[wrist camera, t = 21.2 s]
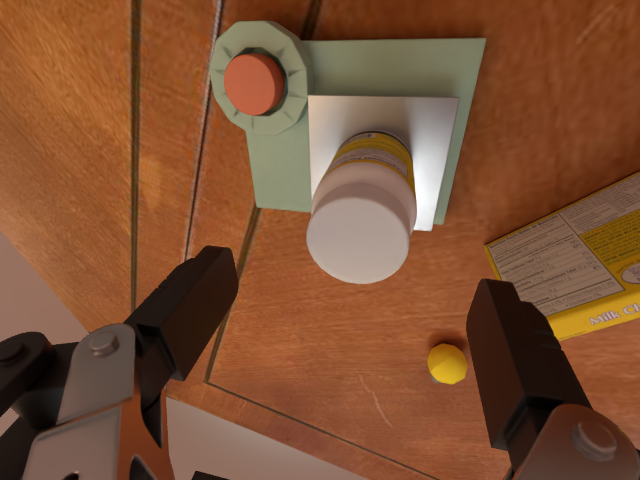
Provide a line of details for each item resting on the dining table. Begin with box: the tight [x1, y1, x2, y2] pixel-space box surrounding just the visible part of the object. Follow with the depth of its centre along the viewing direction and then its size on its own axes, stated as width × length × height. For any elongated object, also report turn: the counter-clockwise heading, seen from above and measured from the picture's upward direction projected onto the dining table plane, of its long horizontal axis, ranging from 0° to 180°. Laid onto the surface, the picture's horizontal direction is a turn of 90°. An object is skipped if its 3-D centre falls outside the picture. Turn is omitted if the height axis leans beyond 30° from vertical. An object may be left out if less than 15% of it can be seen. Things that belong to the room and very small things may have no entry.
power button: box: [224, 53, 284, 115], centre depth 18 cm, size 3×3×2 cm
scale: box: [209, 20, 486, 225], centre depth 20 cm, size 15×12×3 cm
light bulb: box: [427, 343, 468, 384], centre depth 30 cm, size 3×6×4 cm, turn 179°
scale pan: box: [308, 94, 460, 231], centre depth 19 cm, size 8×8×1 cm
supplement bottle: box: [306, 130, 417, 284], centre depth 15 cm, size 5×5×8 cm
